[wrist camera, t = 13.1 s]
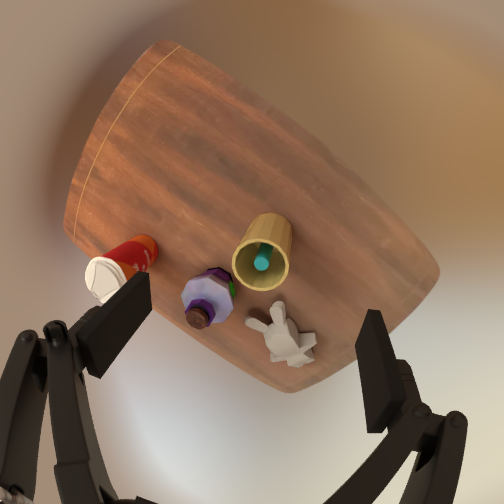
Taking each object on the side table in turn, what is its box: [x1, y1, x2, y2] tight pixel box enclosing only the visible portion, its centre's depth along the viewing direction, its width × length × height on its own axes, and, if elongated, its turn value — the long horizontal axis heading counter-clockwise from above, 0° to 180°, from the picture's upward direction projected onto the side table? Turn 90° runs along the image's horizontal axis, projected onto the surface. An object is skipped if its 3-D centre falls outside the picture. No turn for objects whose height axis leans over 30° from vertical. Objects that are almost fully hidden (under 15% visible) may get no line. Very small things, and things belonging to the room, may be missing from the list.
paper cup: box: [85, 235, 158, 303], centre depth 45 cm, size 8×8×14 cm
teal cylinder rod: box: [254, 242, 274, 271], centre depth 41 cm, size 2×2×11 cm
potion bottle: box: [181, 267, 236, 329], centre depth 45 cm, size 9×9×12 cm
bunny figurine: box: [244, 301, 317, 368], centre depth 50 cm, size 10×5×15 cm
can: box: [232, 213, 292, 291], centre depth 41 cm, size 7×7×12 cm
